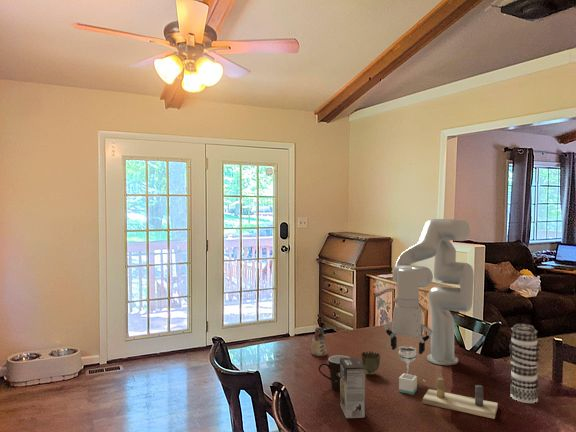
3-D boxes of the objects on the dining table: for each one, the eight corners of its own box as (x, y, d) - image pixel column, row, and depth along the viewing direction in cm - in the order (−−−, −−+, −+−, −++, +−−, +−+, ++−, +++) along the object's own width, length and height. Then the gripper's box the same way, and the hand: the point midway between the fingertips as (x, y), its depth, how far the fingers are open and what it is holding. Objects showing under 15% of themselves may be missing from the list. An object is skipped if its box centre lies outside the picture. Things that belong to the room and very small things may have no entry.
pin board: (429, 393, 155) (429, 372, 155) (497, 407, 144) (497, 384, 144) (422, 403, 148) (422, 380, 147) (494, 418, 136) (494, 394, 136)
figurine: (329, 352, 200) (329, 326, 199) (322, 357, 194) (322, 330, 193) (315, 350, 203) (315, 324, 203) (308, 354, 197) (308, 327, 197)
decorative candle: (538, 406, 145) (539, 330, 144) (507, 399, 150) (507, 326, 149) (540, 396, 152) (540, 324, 152) (510, 390, 157) (510, 320, 157)
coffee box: (339, 405, 146) (339, 357, 146) (358, 404, 147) (358, 356, 146) (345, 418, 137) (345, 367, 137) (365, 417, 138) (365, 366, 137)
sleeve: (403, 386, 161) (403, 373, 161) (417, 389, 158) (417, 375, 158) (398, 391, 157) (398, 377, 157) (413, 394, 154) (413, 380, 154)
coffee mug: (354, 383, 164) (354, 356, 164) (349, 392, 156) (349, 364, 156) (323, 379, 168) (323, 353, 168) (318, 388, 160) (317, 361, 160)
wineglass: (404, 374, 172) (404, 344, 172) (420, 379, 168) (420, 348, 167) (395, 379, 168) (394, 348, 168) (411, 384, 163) (410, 352, 163)
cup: (380, 378, 169) (380, 357, 169) (360, 377, 170) (360, 356, 170) (380, 371, 176) (380, 351, 176) (361, 370, 178) (361, 350, 177)
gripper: (380, 302, 158) (380, 349, 158) (429, 307, 149) (429, 358, 149) (387, 298, 165) (387, 344, 165) (435, 303, 156) (434, 352, 156)
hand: (407, 350), depth 157 cm, fingers open, 9 cm apart
